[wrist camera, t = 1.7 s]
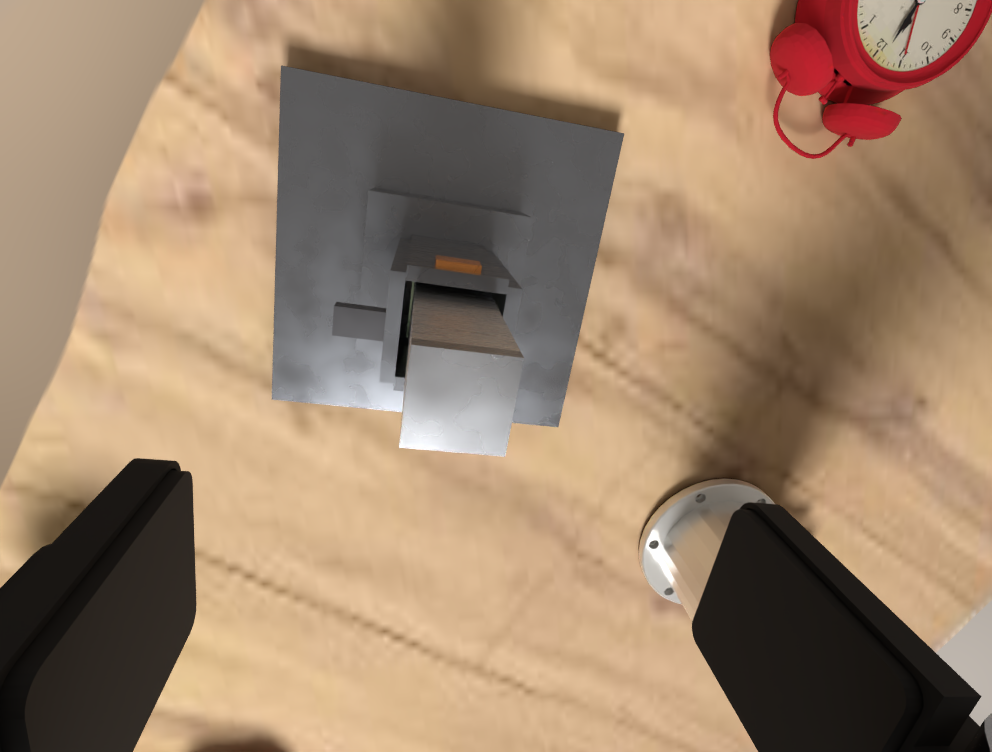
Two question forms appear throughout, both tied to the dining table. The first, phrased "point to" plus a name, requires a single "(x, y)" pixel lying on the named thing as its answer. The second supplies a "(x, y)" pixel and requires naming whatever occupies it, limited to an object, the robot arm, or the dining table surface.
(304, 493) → the dining table surface
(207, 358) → the dining table surface
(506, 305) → the charcoal stand
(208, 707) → the dining table surface
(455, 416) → the steel post
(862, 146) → the dining table surface
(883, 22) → the alarm clock
